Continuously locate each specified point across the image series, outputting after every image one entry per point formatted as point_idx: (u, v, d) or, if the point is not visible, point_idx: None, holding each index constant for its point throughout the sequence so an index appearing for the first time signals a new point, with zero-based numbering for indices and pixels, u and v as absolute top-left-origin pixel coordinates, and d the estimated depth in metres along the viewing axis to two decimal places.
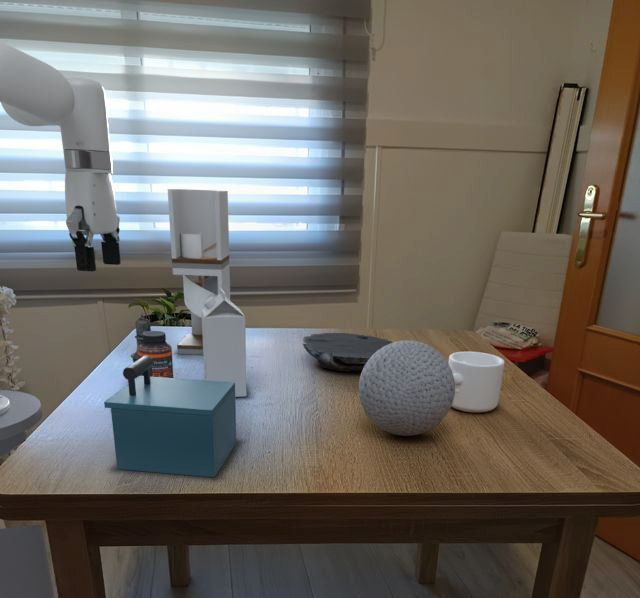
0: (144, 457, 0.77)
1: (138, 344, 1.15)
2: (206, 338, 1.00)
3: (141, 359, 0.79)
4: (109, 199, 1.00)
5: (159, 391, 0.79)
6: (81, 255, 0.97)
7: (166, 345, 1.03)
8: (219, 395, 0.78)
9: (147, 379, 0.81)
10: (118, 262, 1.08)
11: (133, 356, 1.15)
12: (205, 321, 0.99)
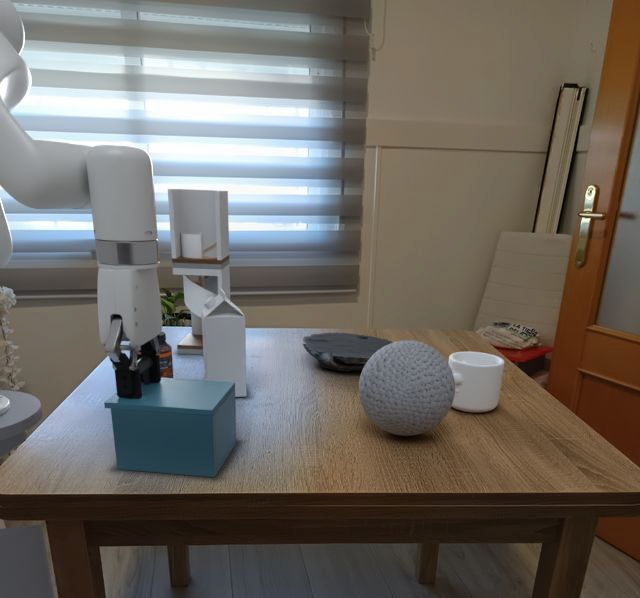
0: (144, 457, 0.77)
1: None
2: (206, 338, 1.00)
3: (141, 359, 0.79)
4: (153, 298, 0.75)
5: (159, 391, 0.79)
6: (124, 380, 0.74)
7: (166, 345, 1.03)
8: (219, 395, 0.78)
9: (147, 379, 0.81)
10: (158, 380, 0.82)
11: None
12: (205, 321, 0.99)
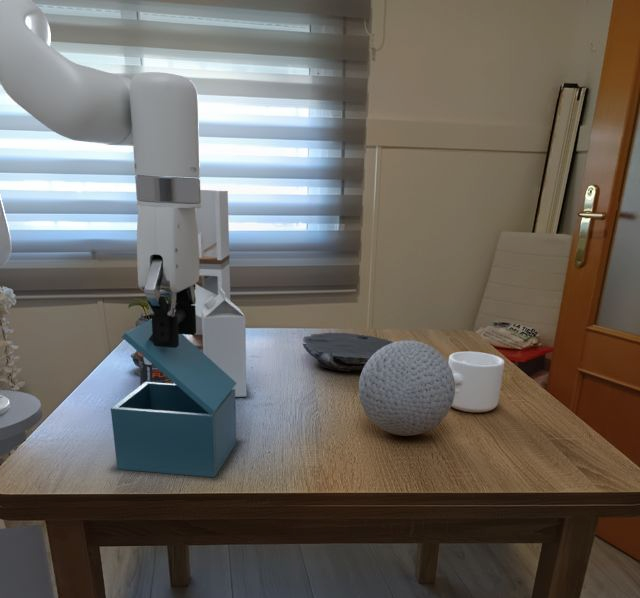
0: (144, 457, 0.77)
1: None
2: (206, 338, 1.00)
3: (179, 313, 0.76)
4: (193, 243, 0.72)
5: (174, 351, 0.76)
6: (161, 327, 0.71)
7: None
8: (222, 393, 0.78)
9: None
10: (193, 332, 0.79)
11: (133, 356, 1.15)
12: (205, 321, 0.99)
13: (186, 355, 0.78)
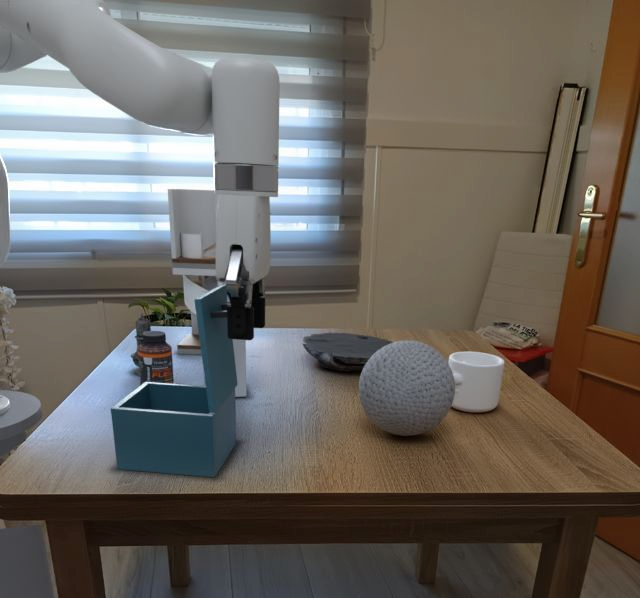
0: (144, 457, 0.77)
1: (138, 344, 1.15)
2: None
3: None
4: (268, 233, 0.70)
5: (218, 333, 0.75)
6: (238, 319, 0.69)
7: (166, 345, 1.03)
8: (226, 394, 0.78)
9: None
10: (263, 325, 0.77)
11: (133, 356, 1.15)
12: None
13: (223, 341, 0.77)
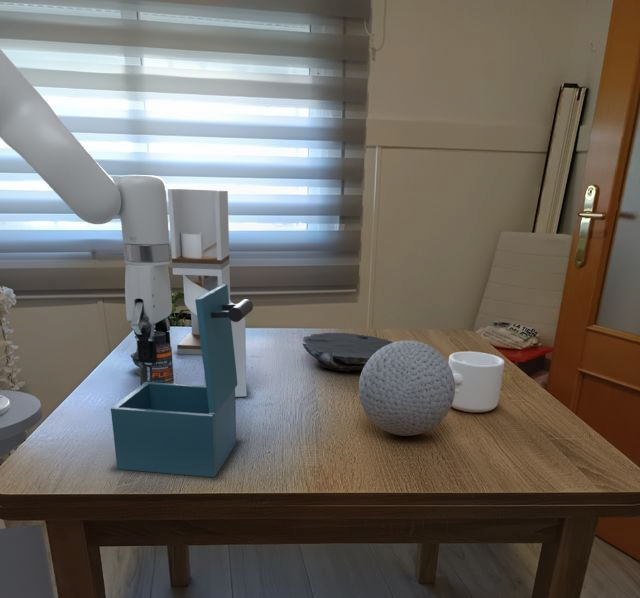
0: (144, 457, 0.77)
1: None
2: None
3: (249, 309, 0.74)
4: (166, 287, 1.00)
5: (219, 333, 0.75)
6: (144, 348, 0.99)
7: (166, 345, 1.03)
8: (226, 394, 0.78)
9: (227, 309, 0.76)
10: None
11: (133, 356, 1.15)
12: None
13: (223, 341, 0.77)
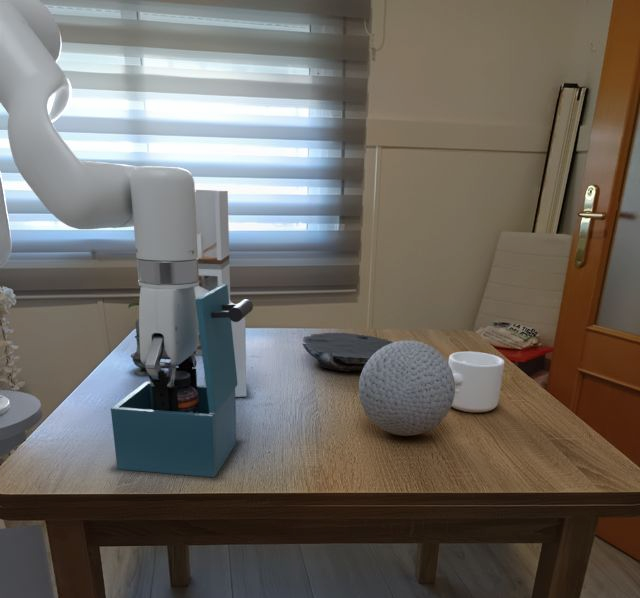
0: (144, 457, 0.77)
1: (138, 344, 1.15)
2: None
3: (249, 309, 0.74)
4: (192, 316, 0.76)
5: (219, 333, 0.75)
6: (161, 397, 0.74)
7: (191, 390, 0.78)
8: (226, 394, 0.78)
9: (227, 309, 0.76)
10: None
11: (133, 356, 1.15)
12: None
13: (223, 341, 0.77)
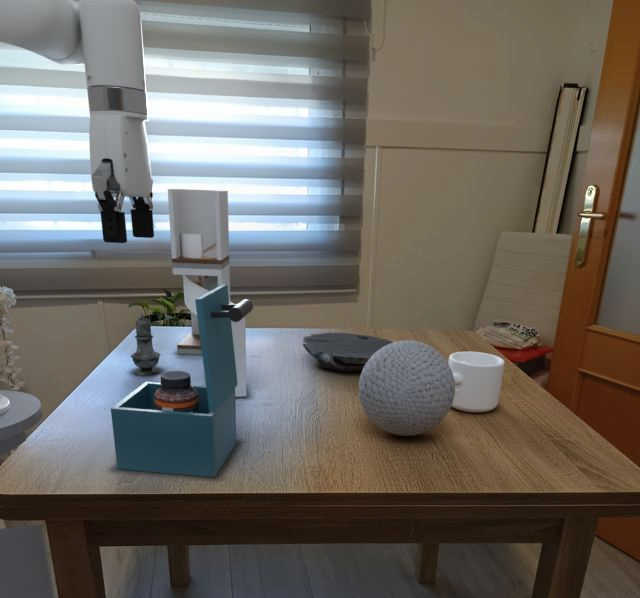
0: (144, 457, 0.77)
1: (138, 344, 1.15)
2: None
3: (249, 309, 0.74)
4: (142, 153, 0.80)
5: (219, 333, 0.75)
6: (109, 222, 0.77)
7: (191, 390, 0.78)
8: (226, 394, 0.78)
9: (227, 309, 0.76)
10: (151, 235, 0.88)
11: (133, 356, 1.15)
12: None
13: (223, 341, 0.77)
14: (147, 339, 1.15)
